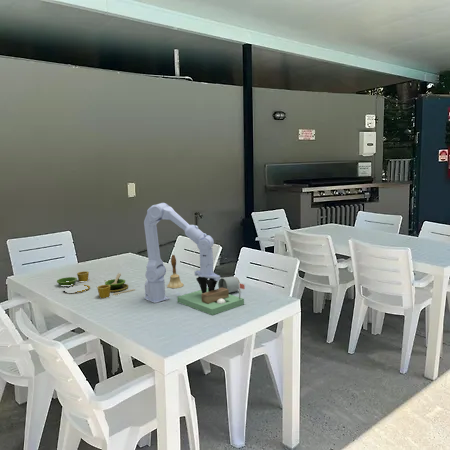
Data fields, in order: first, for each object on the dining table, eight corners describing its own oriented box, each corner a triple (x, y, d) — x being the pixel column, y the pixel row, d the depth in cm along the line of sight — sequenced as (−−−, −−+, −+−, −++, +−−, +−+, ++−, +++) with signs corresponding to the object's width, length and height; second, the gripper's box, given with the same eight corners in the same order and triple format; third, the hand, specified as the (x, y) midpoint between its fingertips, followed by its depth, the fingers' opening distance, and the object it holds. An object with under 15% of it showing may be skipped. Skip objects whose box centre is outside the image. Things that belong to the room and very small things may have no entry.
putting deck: (177, 302, 197) (176, 281, 195) (208, 292, 208) (207, 273, 207) (215, 316, 178) (214, 293, 176) (247, 305, 189) (246, 284, 188)
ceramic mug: (241, 292, 208) (240, 276, 207) (227, 295, 203) (226, 279, 202) (228, 287, 216) (227, 272, 215) (214, 291, 211) (213, 275, 210)
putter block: (201, 301, 188) (201, 293, 188) (222, 295, 196) (222, 287, 196) (207, 303, 185) (207, 295, 185) (228, 296, 193) (228, 289, 193)
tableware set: (138, 291, 216) (137, 279, 215) (83, 305, 198) (82, 291, 197) (101, 276, 247) (101, 265, 246) (51, 286, 229) (50, 274, 228)
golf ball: (215, 308, 188) (213, 299, 188) (222, 306, 191) (220, 297, 191) (221, 309, 185) (220, 299, 185) (228, 306, 188) (227, 297, 188)
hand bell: (167, 289, 216) (165, 257, 214) (166, 284, 225) (164, 253, 222) (184, 287, 218) (182, 256, 216) (182, 283, 226) (181, 252, 224)
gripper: (188, 263, 195) (190, 292, 197) (211, 268, 184) (212, 299, 187) (200, 260, 199) (202, 288, 202) (223, 264, 189) (224, 295, 191)
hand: (207, 293), depth 194 cm, fingers open, 4 cm apart
